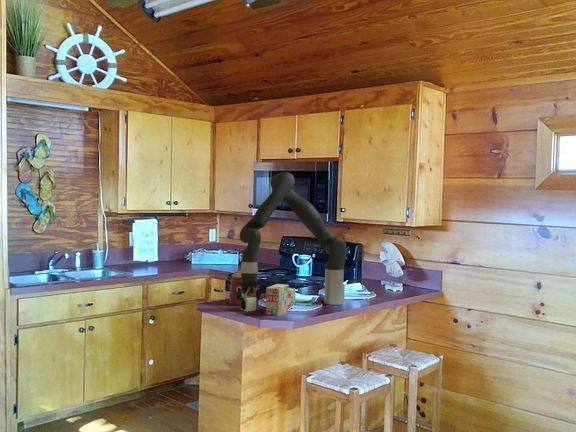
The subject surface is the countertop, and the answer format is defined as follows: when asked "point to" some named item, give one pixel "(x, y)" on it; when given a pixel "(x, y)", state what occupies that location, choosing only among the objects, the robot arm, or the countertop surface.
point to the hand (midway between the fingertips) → (248, 308)
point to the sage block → (250, 304)
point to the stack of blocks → (279, 299)
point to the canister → (234, 283)
